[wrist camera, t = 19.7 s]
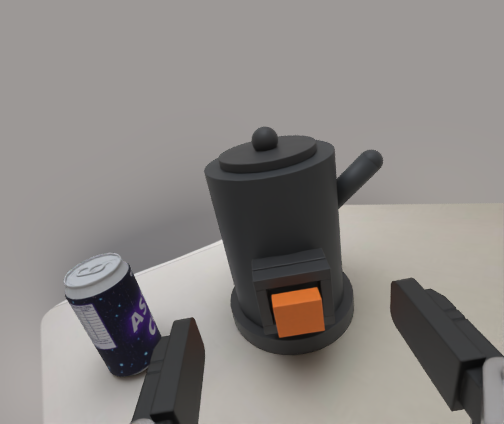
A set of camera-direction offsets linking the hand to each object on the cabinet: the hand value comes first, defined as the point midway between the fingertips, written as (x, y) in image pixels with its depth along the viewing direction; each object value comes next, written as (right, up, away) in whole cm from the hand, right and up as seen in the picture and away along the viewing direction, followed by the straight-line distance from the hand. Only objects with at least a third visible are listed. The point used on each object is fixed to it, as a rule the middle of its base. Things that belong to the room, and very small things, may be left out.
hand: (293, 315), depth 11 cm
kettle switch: (+2, -5, +11) cm, 12 cm away
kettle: (+5, -6, +23) cm, 24 cm away
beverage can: (-14, -12, +19) cm, 27 cm away
